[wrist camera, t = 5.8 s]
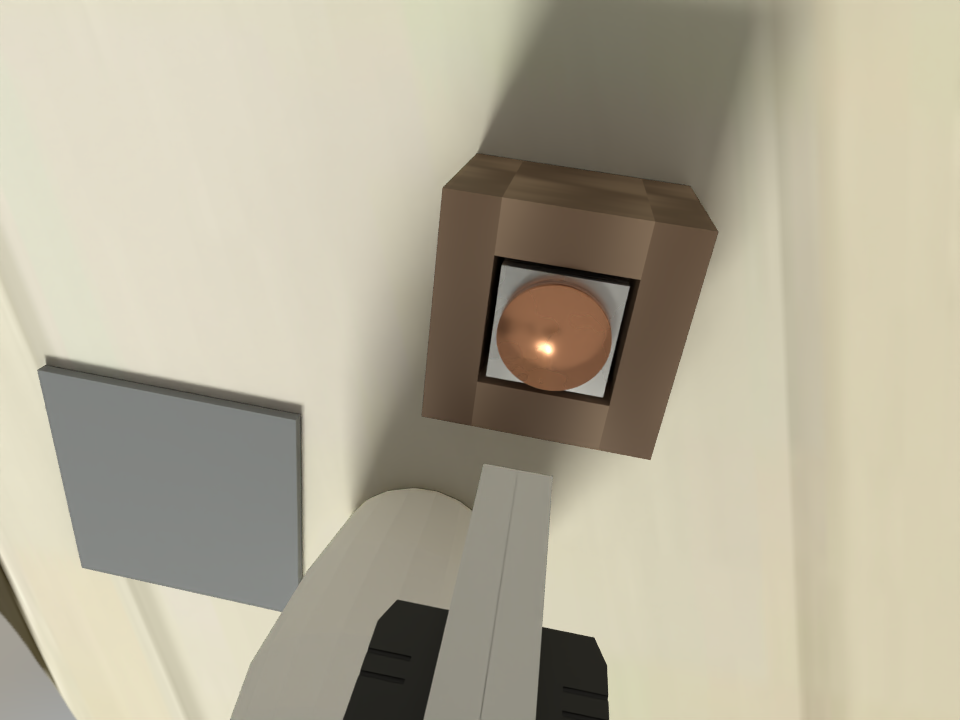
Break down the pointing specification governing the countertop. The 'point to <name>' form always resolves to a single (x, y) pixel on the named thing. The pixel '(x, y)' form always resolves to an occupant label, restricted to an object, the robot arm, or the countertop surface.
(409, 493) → the bottle
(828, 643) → the countertop surface
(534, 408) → the button housing
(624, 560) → the countertop surface
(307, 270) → the countertop surface
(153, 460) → the mat
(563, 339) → the release button
